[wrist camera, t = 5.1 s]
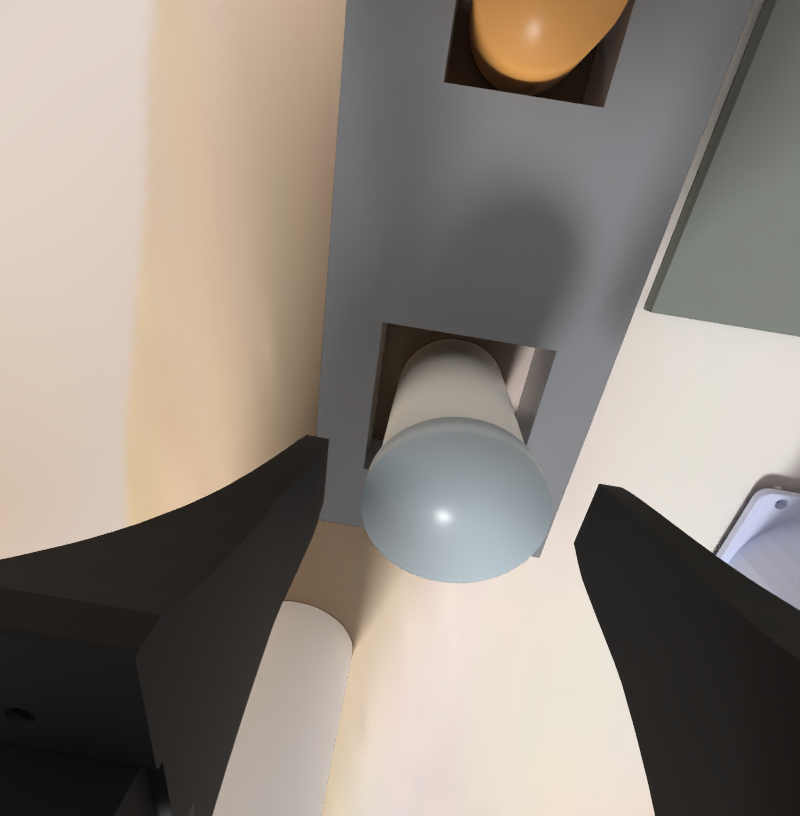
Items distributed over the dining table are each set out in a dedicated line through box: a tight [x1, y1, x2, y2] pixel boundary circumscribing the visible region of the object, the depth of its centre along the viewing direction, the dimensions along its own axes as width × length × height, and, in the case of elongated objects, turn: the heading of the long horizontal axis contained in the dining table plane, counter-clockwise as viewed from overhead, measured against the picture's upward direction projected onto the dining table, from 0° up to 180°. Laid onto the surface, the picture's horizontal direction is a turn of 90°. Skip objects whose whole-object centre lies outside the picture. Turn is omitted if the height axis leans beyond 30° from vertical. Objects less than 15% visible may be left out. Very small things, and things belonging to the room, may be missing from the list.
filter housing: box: [316, 0, 754, 558], centre depth 15 cm, size 10×22×2 cm, turn 172°
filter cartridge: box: [361, 339, 552, 583], centre depth 14 cm, size 5×5×8 cm
